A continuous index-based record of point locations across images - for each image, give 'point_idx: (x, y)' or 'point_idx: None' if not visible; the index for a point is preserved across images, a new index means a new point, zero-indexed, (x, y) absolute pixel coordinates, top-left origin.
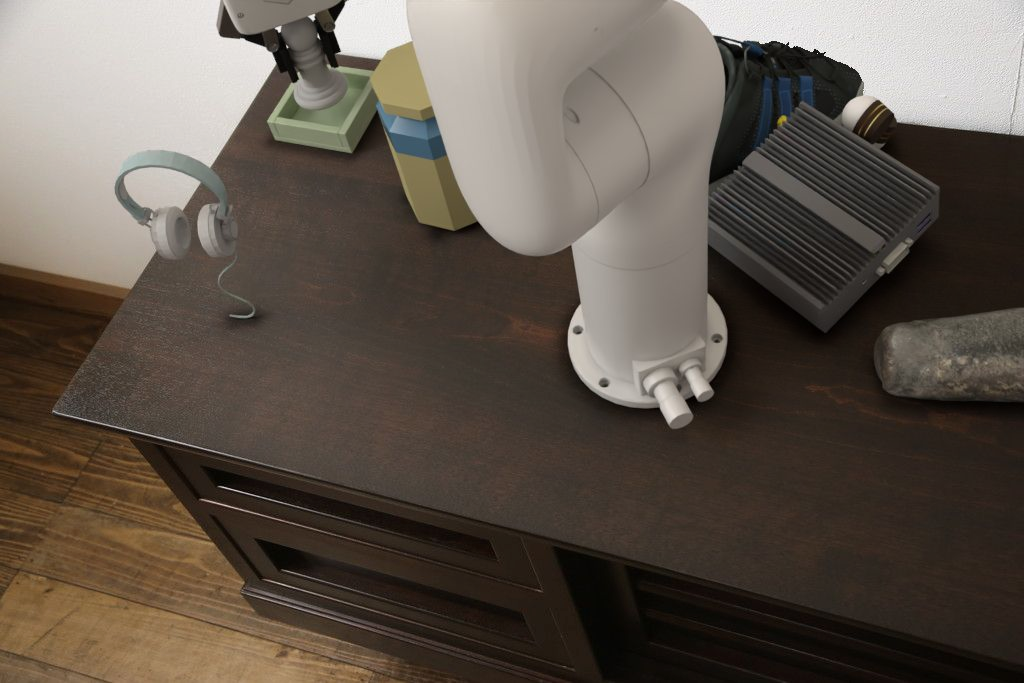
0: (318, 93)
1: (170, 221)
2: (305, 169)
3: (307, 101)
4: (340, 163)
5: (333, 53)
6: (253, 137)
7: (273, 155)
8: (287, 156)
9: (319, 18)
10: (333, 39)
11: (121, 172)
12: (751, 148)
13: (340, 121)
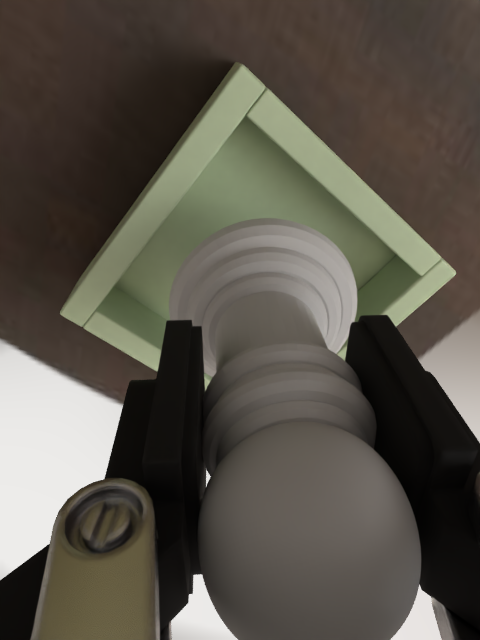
0: (283, 271)
1: None
2: (399, 70)
3: (328, 263)
4: (286, 33)
5: (161, 367)
6: (465, 280)
7: (453, 187)
8: (421, 162)
9: (136, 616)
10: (133, 437)
11: None
12: None
13: (235, 212)
